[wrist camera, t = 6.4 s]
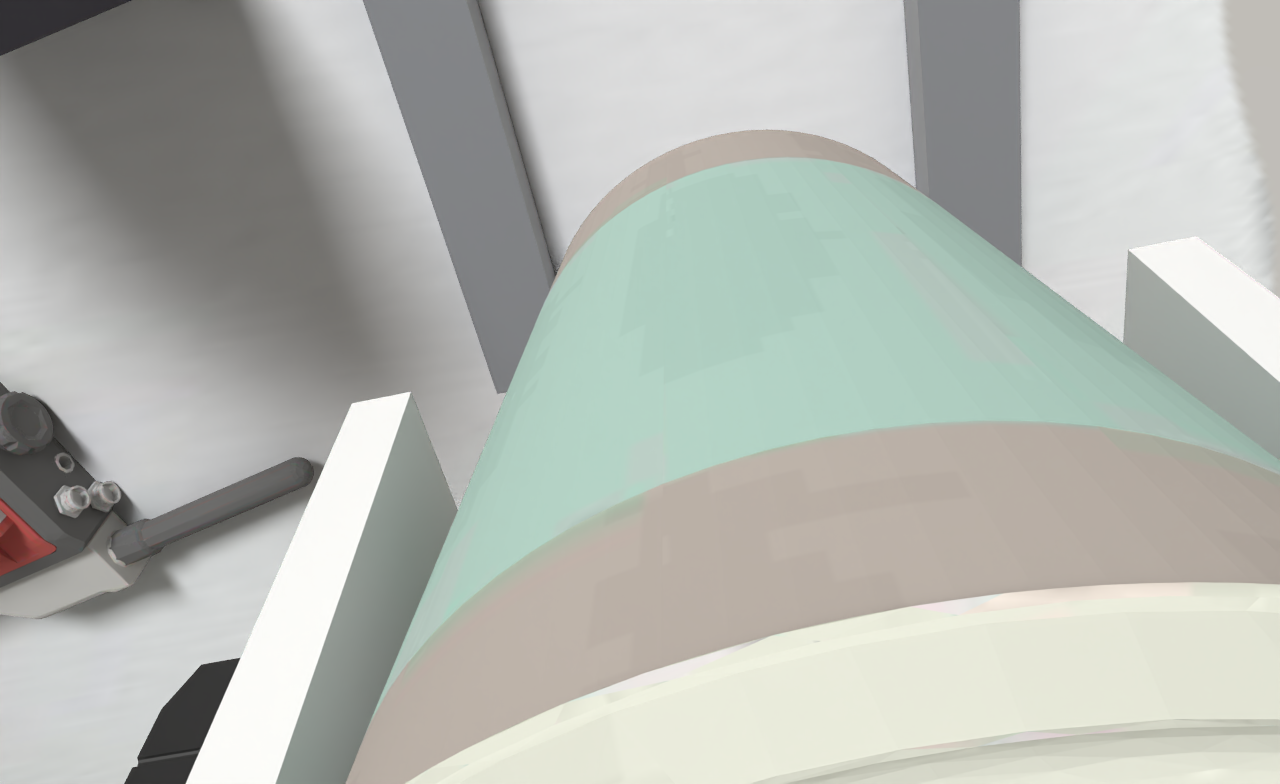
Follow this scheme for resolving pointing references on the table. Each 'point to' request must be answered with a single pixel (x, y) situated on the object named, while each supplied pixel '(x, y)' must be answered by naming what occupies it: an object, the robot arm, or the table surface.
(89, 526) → the walkie-talkie
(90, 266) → the table surface
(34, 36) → the calculator
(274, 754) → the robot arm
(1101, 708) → the coffee cup
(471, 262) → the socket
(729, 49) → the table surface
